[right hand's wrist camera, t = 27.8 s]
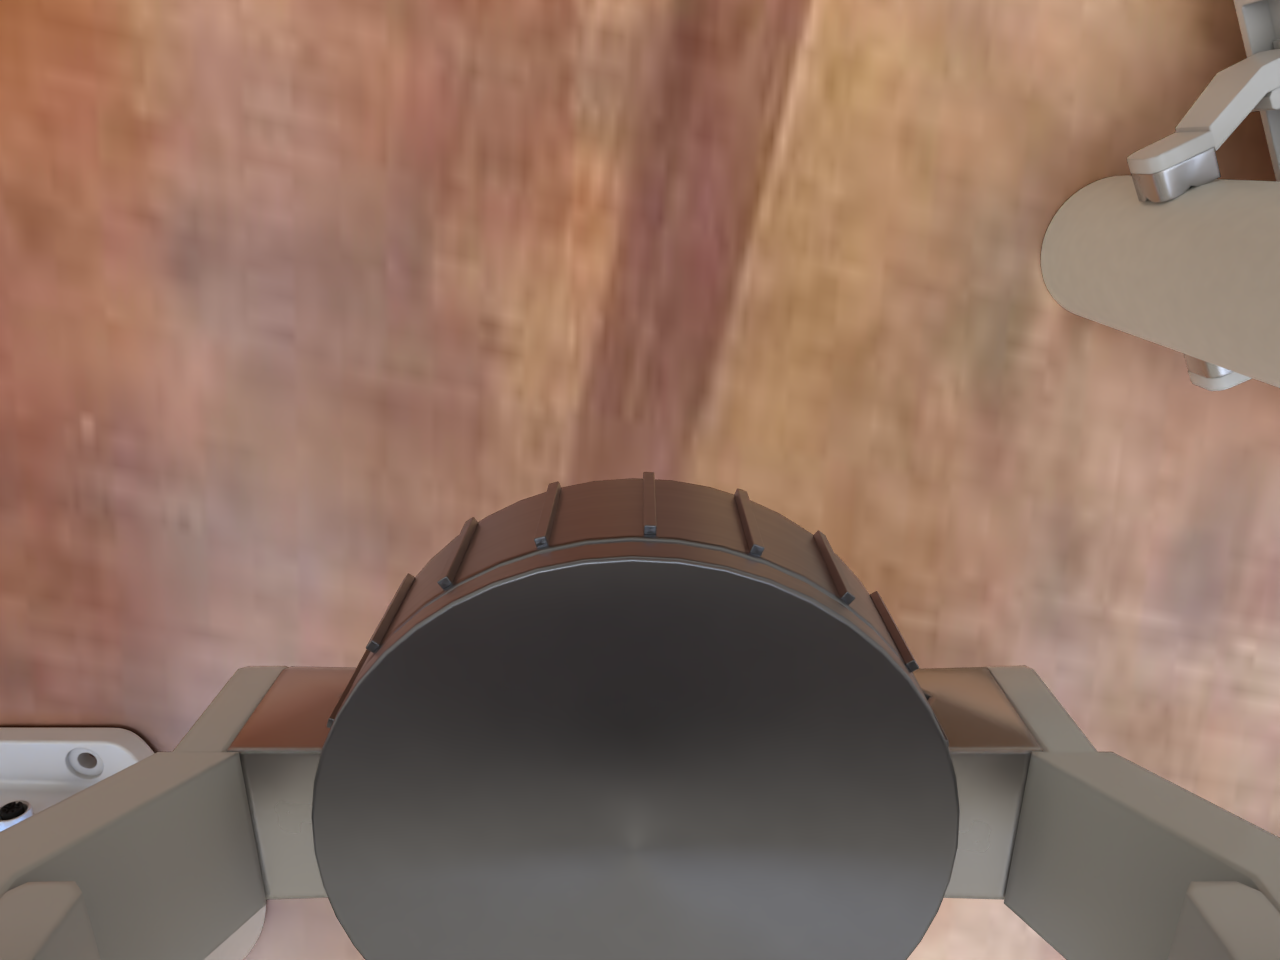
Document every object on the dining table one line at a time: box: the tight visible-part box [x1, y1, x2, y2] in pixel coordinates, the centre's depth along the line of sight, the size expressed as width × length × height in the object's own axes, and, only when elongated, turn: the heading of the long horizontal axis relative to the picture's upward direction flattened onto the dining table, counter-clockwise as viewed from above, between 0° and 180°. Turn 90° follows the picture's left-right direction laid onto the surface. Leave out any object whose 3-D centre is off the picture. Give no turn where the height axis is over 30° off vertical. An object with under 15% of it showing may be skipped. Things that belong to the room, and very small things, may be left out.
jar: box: [1041, 175, 1280, 388], centre depth 26 cm, size 5×5×16 cm
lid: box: [311, 472, 960, 960], centre depth 9 cm, size 6×6×2 cm
